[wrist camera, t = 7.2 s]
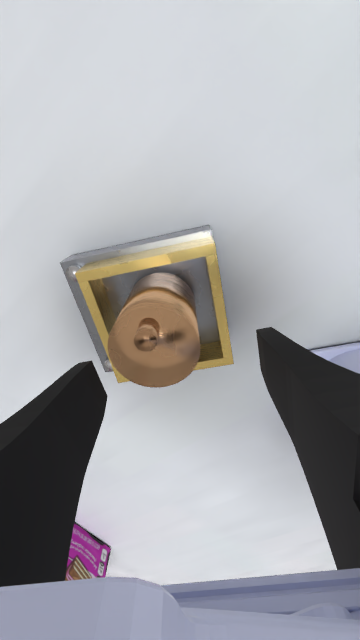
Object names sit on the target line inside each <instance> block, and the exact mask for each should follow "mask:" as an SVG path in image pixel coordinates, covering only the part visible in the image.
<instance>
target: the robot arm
mask: <svg viewBox="0 0 360 640" xmlns="http://www.w3.org/2000/svg"><path fill="white" fill-rule="evenodd" d="M256 332H257V341H258V349H259V358H260V366H261V371H262V374H263V378H264V381H265V383H266V386H267V389H268V392H269V394H270V396H271V398H272V400H273V402H274V404H275V406H276V408H277V410H278V412H279V415H280V417H281V419H282V421H283V423H284V425H285V427H286V429H287V431H288V433H289V435H290V437H291V439H292V442H293V444H294V446H295V449H296V452H297V454H298V457H299V460H300V462H301V465H302V468H303V471H304V473H305V476H306V479H307V482H308V484H309V487H310V490H311V493H312V496H313V498H314V501H315V504H316V507H317V510H318V513H319V516H320V519H321V522H322V525H323V528H324V530H325V533H326V536H327V539H328V542H329V545H330V548H331V552H332V555H333V558H334V561H335V564H336V567H337V570H332V571H320V572H309V573H297V574H286V575H275V576H263V577H252V578H240V579H229V580H218V581H206V582H195V583H183V584H172V585H161V586H160V585H158V584H155V583H152V582H148V581H145V580H142V579H138V578H127V577H102V578H91V579H81V580H70V581H65V578H66V570H67V563H68V557H69V551H70V545H71V539H72V533H73V527H74V522H75V517H76V512H77V507H78V502H79V497H80V493H81V488H82V484H83V480H84V476H85V472H86V469H87V465H88V463H89V460H90V457H91V454H92V451H93V448H94V445H95V442H96V439H97V436H98V433H99V430H100V427H101V424H102V421H103V417H104V413H105V408H106V401H107V394H106V392H105V390H104V387H103V385H102V383H101V381H100V378H99V376H98V374H97V372H96V369H95V367H94V365H93V363H92V361H87V362H82V363H78V364H77V365H75V366H74V367H72V368H71V369H70V370H69V371H67V372H66V373H65V374H64V375H62V376H61V377H60V378H59V379H58V380H56V381H55V382H54V383H53V384H52V385H50V386H49V387H48V388H47V389H46V390H44V391H43V392H42V393H41V394H40V395H38V396H37V397H36V398H34V399H33V400H32V401H31V402H29V403H28V404H27V405H26V406H24V407H23V408H22V409H20V410H19V411H18V412H16V413H15V414H14V415H12V416H11V417H10V418H8V419H7V420H5V421H4V422H2V423H1V424H0V640H360V342H358V343H352V344H346V345H340V346H334V347H328V348H322V349H316V350H310V351H309V350H307V349H305V348H304V347H302V346H300V345H299V344H297V343H295V342H294V341H292V340H290V339H289V338H287V337H286V336H284V335H283V334H281V333H280V332H278V331H277V330H275V329H274V328H272V327H269V328H263V329H258V330H256Z"/></svg>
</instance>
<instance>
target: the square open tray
mask: <svg viewBox="0 0 360 640" xmlns="http://www.w3.org/2000/svg"><path fill="white" fill-rule="evenodd" d="M60 264H61V267H62V269H63V271H64V274H65V276H66V279H67V281H68V283H69V286H70V288H71V291H72V293H73V296H74V298H75V300H76V303H77V305H78V308H79V310H80V312H81V315H82V317H83V320H84V322H85V324H86V327H87V329H88V332H89V334H90V336H91V339H92V341H93V344H94V346H95V349H96V351H97V353H98V356H99V358H100V361H101V363H102V365H103V368H104V370H105V372H109V371H110V372H112V371H114V373H115V376H116V378H117V381H118V383H121V382H127V381H130V380H128V379H126V378H125V377H124V376H122V375H121V374H120V373H119V372H118V371H117V370H116V368H115V367H114V366H113V364H112V362H111V360H110V357H109V354H108V346H107V345H108V338H109V334H110V332H111V330H112V328H113V326H114V324H115V322H116V320H117V318H118V316H119V314H120V312H121V310H122V308H123V306H124V304H125V302H126V300H127V298H128V296H129V294H130V292H131V291H132V289H133V287H134V286H135V284H136V283H137V282H138V281H139V280H140V279H142V278H143V277H145V276H147V275H150V274H153V273H169V274H172V275H175V276H177V277H179V278H181V279H182V280H183V281H185V282H186V283H187V285H188V286H189V287H190V289H191V290H192V292H193V295H194V299H195V306H196V314H197V323H198V331H199V340H200V357H199V360H198V363H197V365H196V367H195V368H194V370H199V369H205V368H211V367H217V366H223V365H229V364H234V363H233V357H232V350H231V344H230V337H229V331H228V325H227V318H226V312H225V305H224V299H223V292H222V286H221V279H220V273H219V266H218V260H217V253H216V247H215V242H214V240H213V234H212V229H211V227H210V226H209V225H207V226H202V227H197V228H193V229H188V230H184V231H179V232H175V233H170V234H166V235H161V236H157V237H152V238H148V239H143V240H139V241H134V242H130V243H125V244H121V245H116V246H112V247H107V248H103V249H98V250H94V251H89V252H85V253H80V254H76V255H71V256H70V257H68V258H66V259H65V260H63V261H62V262H60Z"/></svg>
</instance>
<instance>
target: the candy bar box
mask: <svg viewBox="0 0 360 640" xmlns="http://www.w3.org/2000/svg"><path fill="white" fill-rule="evenodd" d="M110 550H111V549H110V548H109V547H108V546H106V545H105V544H104V543H102V542H101V541H99V540H98V539H96V538H95V537H94V536H92V535H91V534H89V533H88V532H86V531H85V530H84V529H82V528H81V527H79V526H78V525H76V524H75V523H74V527H73V533H72V539H71V545H70V551H69V557H68V563H67V570H66V578H65V581H70V580H81V579H91V578H102V577H105V575H106V570H107V565H108V560H109V555H110Z"/></svg>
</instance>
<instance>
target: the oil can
mask: <svg viewBox="0 0 360 640" xmlns="http://www.w3.org/2000/svg"><path fill="white" fill-rule="evenodd" d="M107 346H108V354H109V357H110V360H111V362H112V364H113V366H114V367H115V368H116V370H117V371H118V372H119V373H120V374H121V375H122V376H124V377H125V378H126V379H128V380H130V381H132V382H134V383H136V384H139V385H142V386H146V387H165V386H170V385H173V384H176V383H178V382H180V381H182V380H183V379H185V378H186V377H187V376H188V375H189V374H190V373H191V372H192V371H193V370H194V368H195V367H196V365H197V363H198V360H199V357H200V340H199V331H198V323H197V314H196V306H195V299H194V295H193V292H192V290H191V289H190V287H189V286H188V285H187V283H186V282H185V281H183V280H182V279H181V278H179V277H177V276H175V275H172V274H169V273H153V274H150V275H147V276H145V277H143V278H142V279H140V280H139V281H138V282H137V283H136V284H135V286H134V287H133V289H132V291H131V292H130V294H129V296H128V298H127V300H126V302H125V304H124V306H123V308H122V310H121V312H120V314H119V316H118V318H117V320H116V322H115V324H114V326H113V328H112V330H111V332H110V334H109V338H108V345H107Z"/></svg>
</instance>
